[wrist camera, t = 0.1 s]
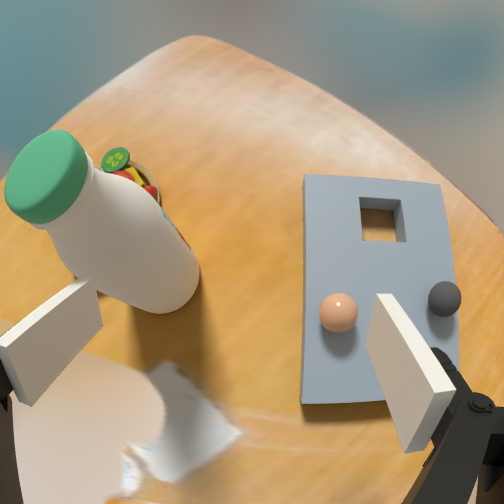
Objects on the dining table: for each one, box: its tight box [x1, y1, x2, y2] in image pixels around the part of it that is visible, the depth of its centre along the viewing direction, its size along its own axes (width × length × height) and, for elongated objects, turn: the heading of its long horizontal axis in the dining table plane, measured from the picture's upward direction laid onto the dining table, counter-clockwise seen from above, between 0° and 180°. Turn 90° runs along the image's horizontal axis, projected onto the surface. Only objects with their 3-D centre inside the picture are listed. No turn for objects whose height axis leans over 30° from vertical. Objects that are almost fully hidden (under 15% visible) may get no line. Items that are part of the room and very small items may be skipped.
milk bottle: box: [4, 130, 200, 314], centre depth 21 cm, size 8×8×20 cm
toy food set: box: [94, 147, 160, 204], centre depth 32 cm, size 13×13×3 cm
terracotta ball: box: [319, 293, 358, 333], centre depth 24 cm, size 3×3×3 cm
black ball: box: [428, 281, 461, 317], centre depth 24 cm, size 3×3×3 cm
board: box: [300, 174, 459, 404], centre depth 28 cm, size 21×15×2 cm
